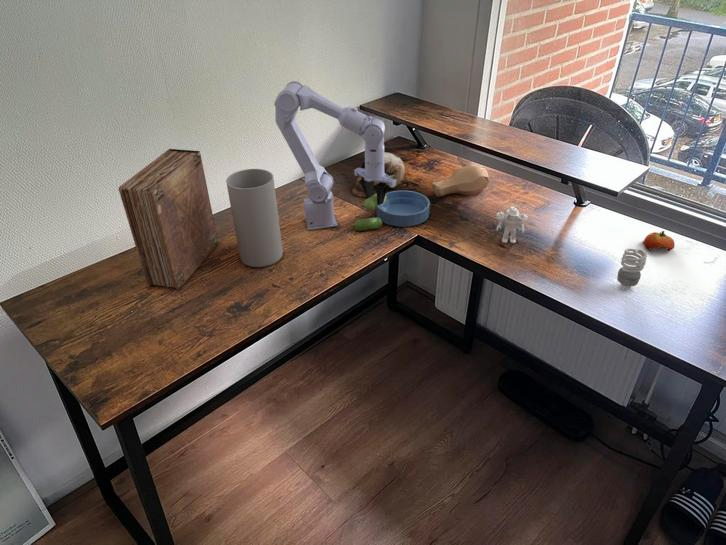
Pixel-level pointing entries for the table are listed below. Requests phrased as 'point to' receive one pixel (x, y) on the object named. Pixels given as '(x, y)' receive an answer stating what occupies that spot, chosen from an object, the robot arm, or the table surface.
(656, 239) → the tomato
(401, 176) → the coin bank
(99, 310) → the table surface
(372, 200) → the pale zucchini
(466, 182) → the squash
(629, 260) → the light bulb
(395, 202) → the bowl
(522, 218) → the hat wearing toy figure
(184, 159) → the book
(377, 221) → the green zucchini
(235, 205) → the cylinder vase
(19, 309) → the table surface
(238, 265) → the table surface
